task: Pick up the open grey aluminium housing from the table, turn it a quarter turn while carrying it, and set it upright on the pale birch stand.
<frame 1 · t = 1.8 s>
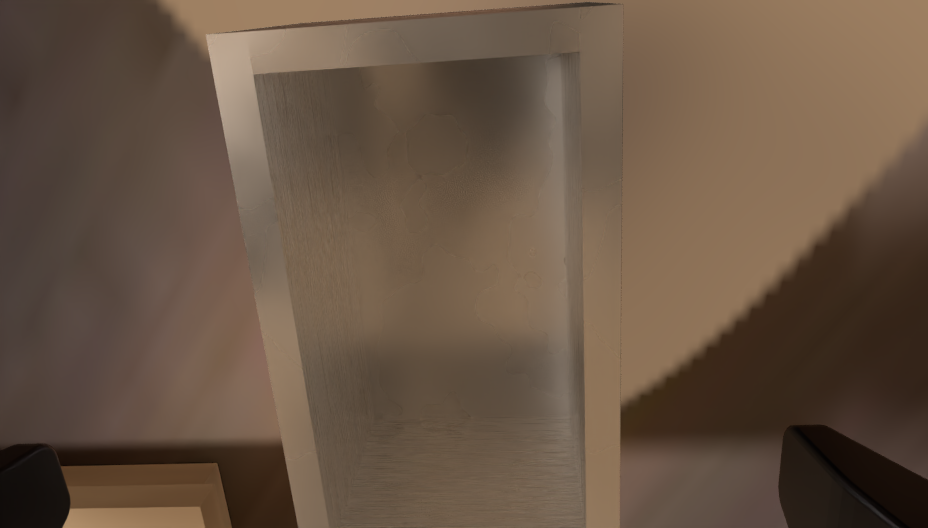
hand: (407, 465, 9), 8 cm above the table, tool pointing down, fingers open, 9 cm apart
housing: (459, 240, 16), on the table
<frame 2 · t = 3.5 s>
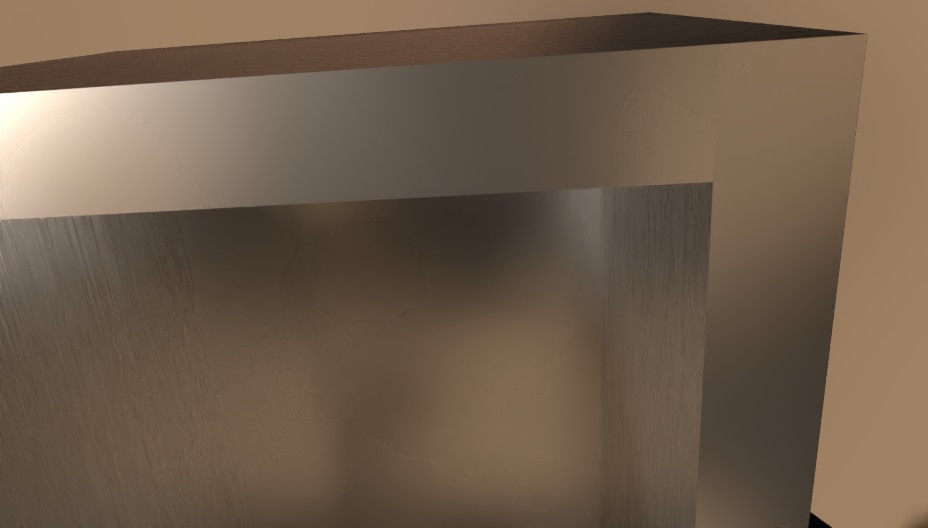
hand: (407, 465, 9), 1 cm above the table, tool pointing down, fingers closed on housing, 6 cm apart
housing: (417, 418, 10), on the table, touching gripper
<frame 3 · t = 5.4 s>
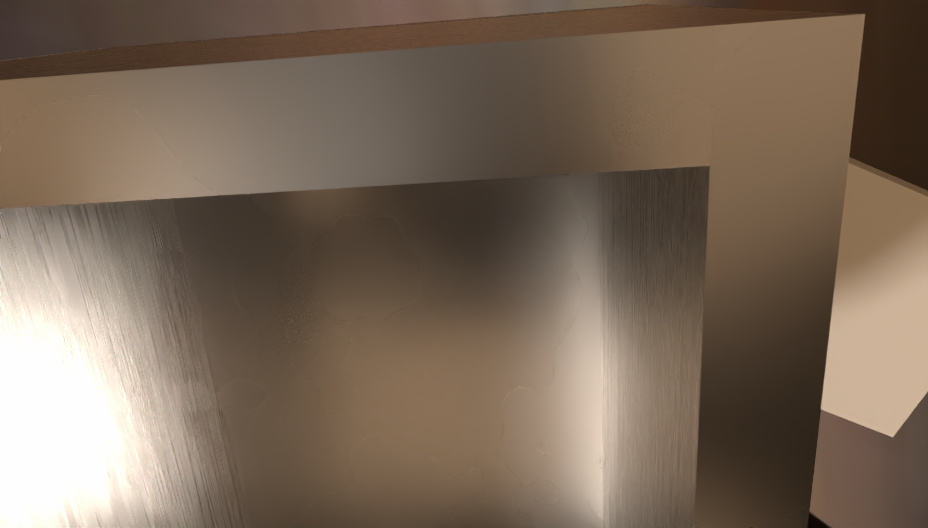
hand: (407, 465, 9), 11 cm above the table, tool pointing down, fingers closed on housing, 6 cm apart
parts box: (787, 240, 19), on the table
housing: (416, 415, 10), point 10 cm above the table, touching gripper
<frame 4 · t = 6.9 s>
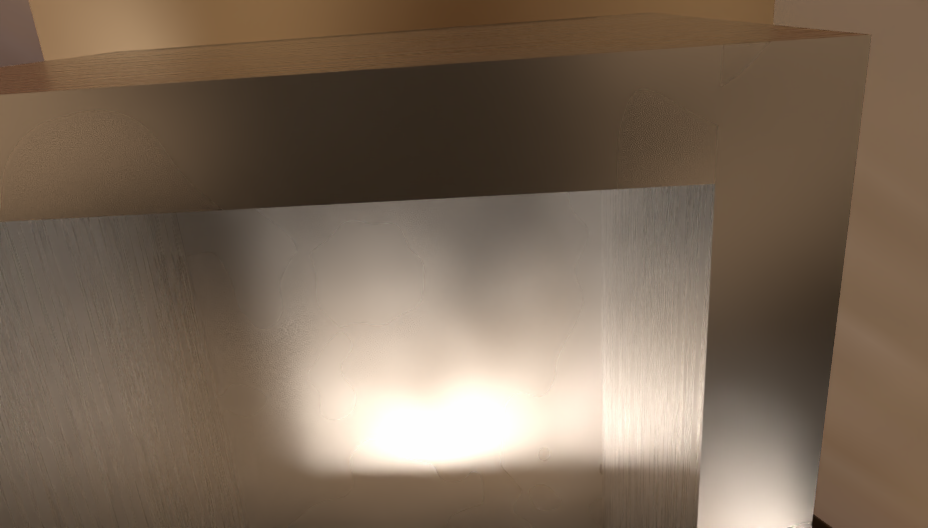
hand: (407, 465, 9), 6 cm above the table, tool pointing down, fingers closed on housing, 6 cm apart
stand: (442, 286, 14), on the table
housing: (417, 420, 10), point 5 cm above the table, touching gripper
when the fingers open (5 cm above the table, at t = 7.8 s): housing drops 1 cm, resting on stand.
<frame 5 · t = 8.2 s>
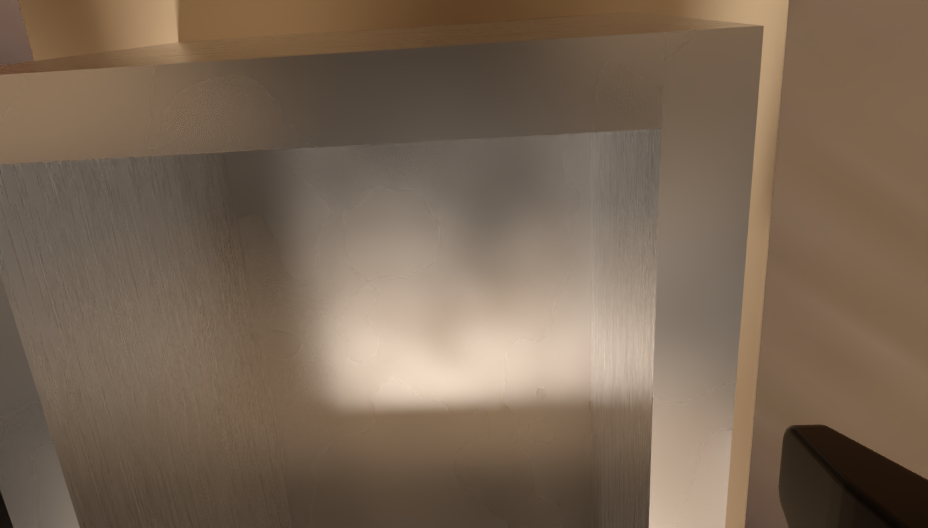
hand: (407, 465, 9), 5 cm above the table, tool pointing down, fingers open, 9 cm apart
stand: (444, 292, 14), on the table
housing: (430, 366, 11), point 3 cm above the table, touching stand
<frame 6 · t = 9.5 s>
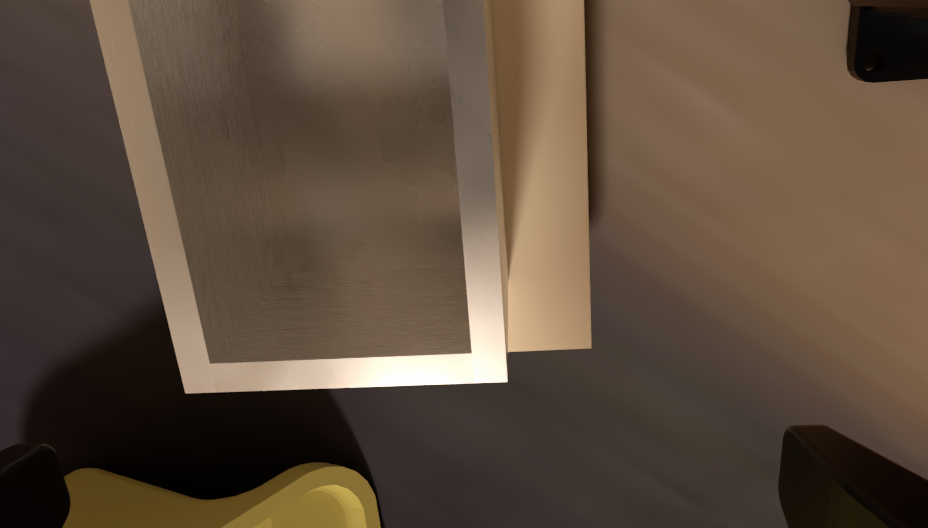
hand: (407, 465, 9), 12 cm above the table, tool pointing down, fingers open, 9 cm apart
stand: (382, 67, 19), on the table
housing: (362, 78, 16), point 3 cm above the table, touching stand
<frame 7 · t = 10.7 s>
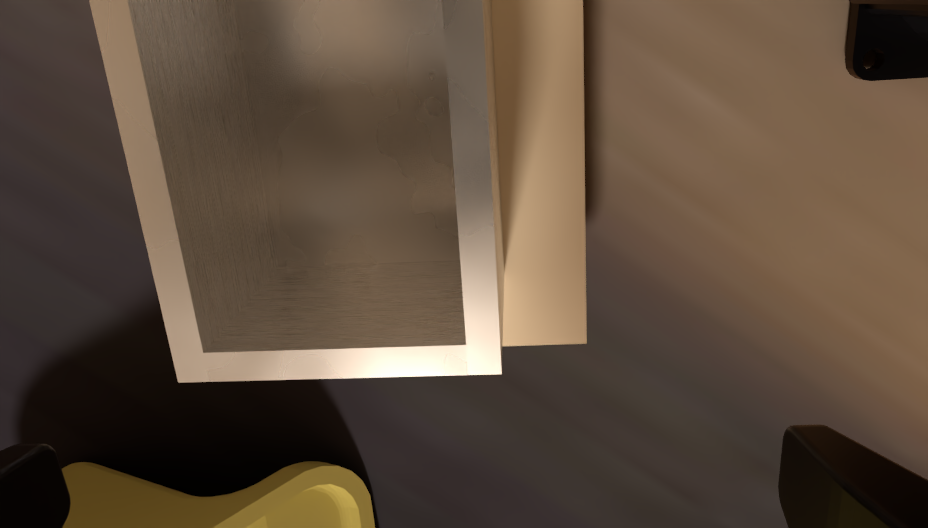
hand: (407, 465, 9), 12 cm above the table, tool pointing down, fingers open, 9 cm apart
stand: (380, 59, 19), on the table
housing: (360, 69, 16), point 3 cm above the table, touching stand
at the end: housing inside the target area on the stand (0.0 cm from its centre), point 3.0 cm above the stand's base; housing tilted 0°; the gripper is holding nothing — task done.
